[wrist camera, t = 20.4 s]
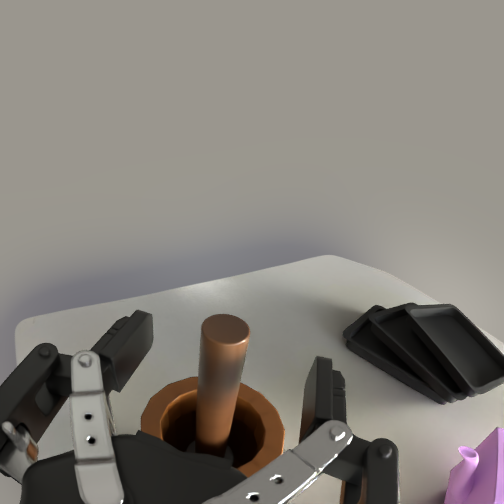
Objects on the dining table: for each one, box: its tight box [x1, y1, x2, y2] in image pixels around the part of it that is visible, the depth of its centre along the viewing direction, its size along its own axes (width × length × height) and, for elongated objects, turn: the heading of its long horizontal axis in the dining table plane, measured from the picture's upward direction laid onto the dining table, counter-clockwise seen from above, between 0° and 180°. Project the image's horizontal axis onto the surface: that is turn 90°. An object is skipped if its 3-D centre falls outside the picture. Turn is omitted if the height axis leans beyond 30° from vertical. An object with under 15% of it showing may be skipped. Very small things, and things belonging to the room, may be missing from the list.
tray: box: [343, 303, 504, 404], centre depth 38 cm, size 30×23×5 cm
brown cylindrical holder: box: [141, 377, 285, 478], centre depth 17 cm, size 8×8×11 cm
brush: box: [185, 314, 250, 467], centre depth 16 cm, size 3×3×18 cm
